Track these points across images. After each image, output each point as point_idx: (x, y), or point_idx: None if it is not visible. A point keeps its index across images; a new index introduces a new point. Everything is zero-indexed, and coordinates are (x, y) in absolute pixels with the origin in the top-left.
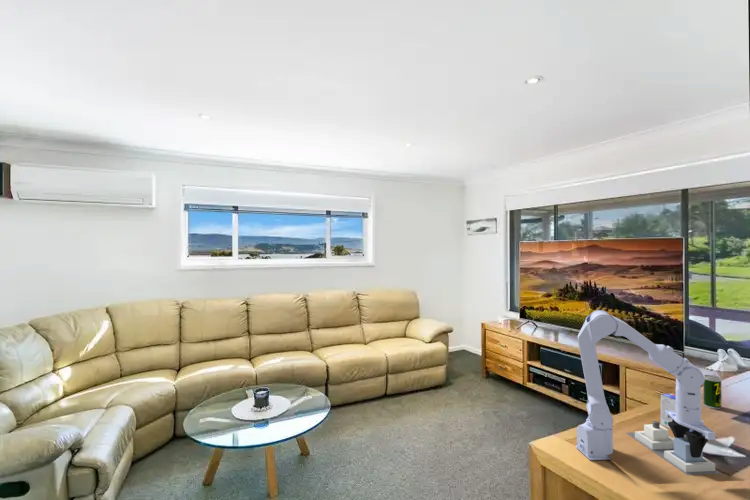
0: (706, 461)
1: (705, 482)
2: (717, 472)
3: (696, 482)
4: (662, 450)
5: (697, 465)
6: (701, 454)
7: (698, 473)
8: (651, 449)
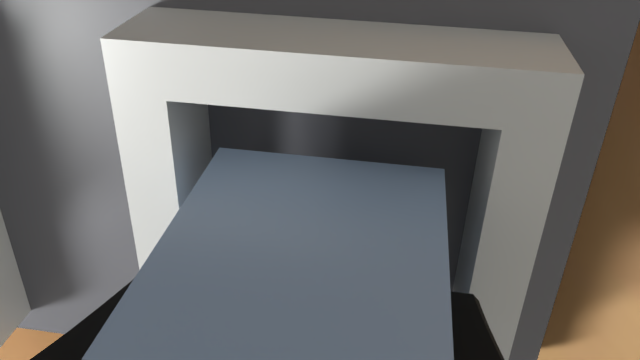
0: (461, 120)
1: (599, 234)
2: (601, 41)
3: (568, 309)
4: (35, 236)
5: (514, 321)
6: (443, 257)
7: (536, 285)
8: (31, 316)
